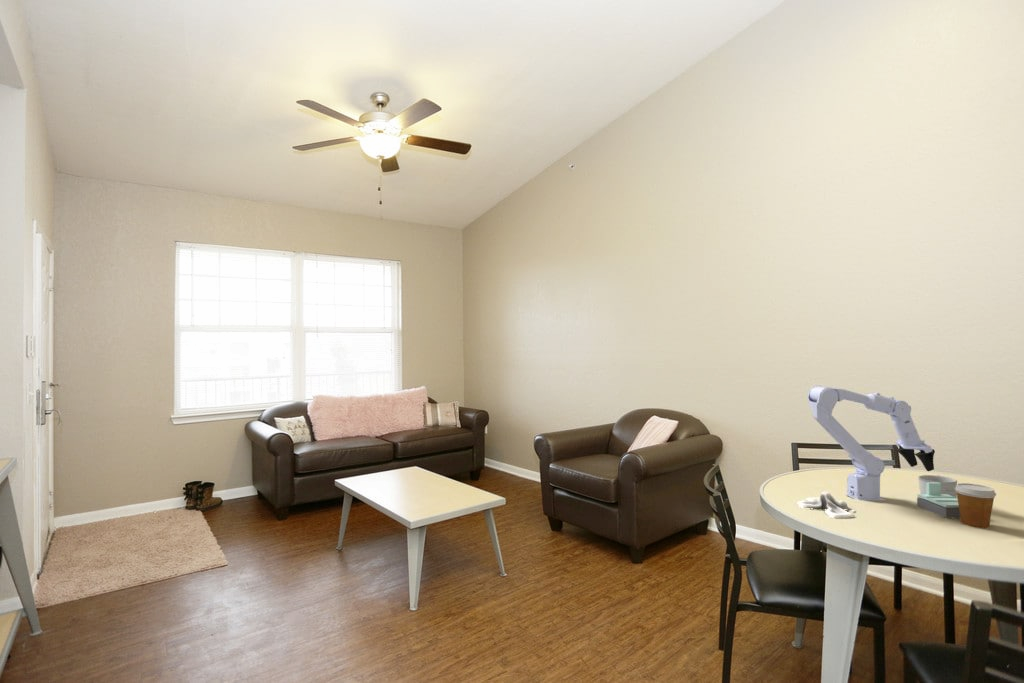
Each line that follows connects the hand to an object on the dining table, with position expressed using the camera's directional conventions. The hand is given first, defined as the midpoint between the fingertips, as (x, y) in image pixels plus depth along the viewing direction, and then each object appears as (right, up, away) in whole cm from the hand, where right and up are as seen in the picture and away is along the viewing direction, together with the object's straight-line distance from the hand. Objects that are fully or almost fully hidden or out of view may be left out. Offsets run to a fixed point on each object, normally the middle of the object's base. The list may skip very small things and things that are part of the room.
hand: (922, 467), depth 187 cm
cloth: (-38, -12, -9) cm, 41 cm away
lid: (-3, -8, -14) cm, 17 cm away
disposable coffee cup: (-4, -12, -26) cm, 29 cm away
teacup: (+7, -12, +2) cm, 14 cm away
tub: (-3, -12, -14) cm, 19 cm away
